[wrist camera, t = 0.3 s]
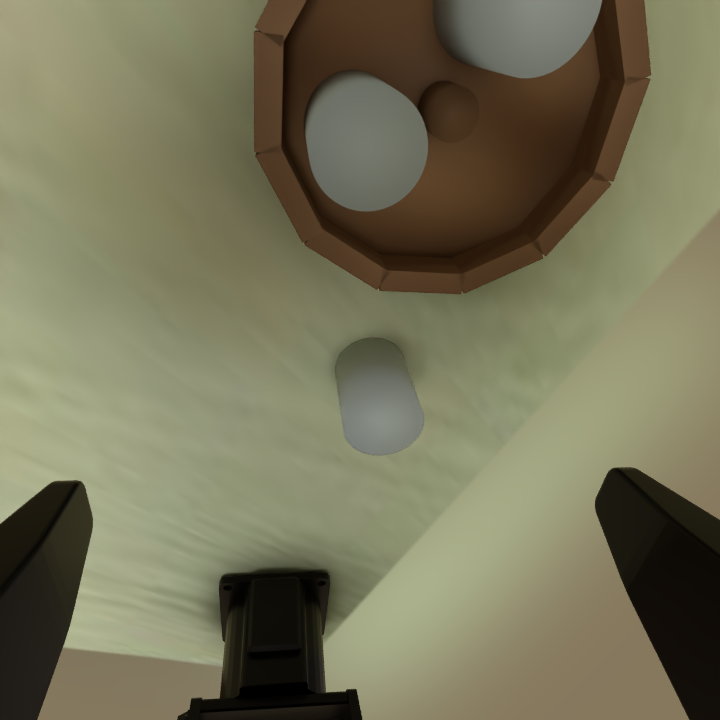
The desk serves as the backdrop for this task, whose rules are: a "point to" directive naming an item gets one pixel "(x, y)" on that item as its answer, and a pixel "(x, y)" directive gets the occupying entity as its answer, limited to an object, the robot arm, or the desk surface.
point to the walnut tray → (448, 139)
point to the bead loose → (377, 398)
